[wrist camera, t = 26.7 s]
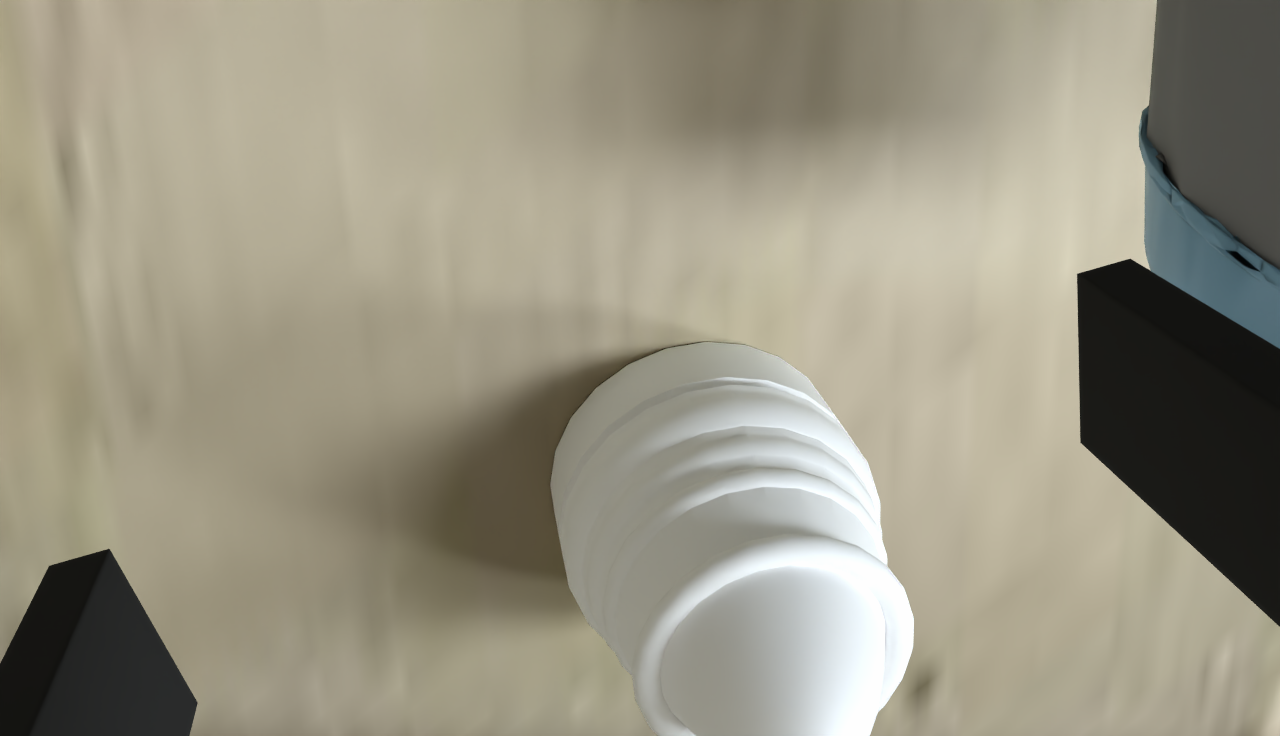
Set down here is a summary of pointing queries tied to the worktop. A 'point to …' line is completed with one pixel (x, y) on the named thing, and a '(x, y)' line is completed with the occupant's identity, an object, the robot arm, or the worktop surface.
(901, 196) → the worktop surface
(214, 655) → the worktop surface
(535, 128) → the worktop surface
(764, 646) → the honey pot
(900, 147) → the worktop surface
